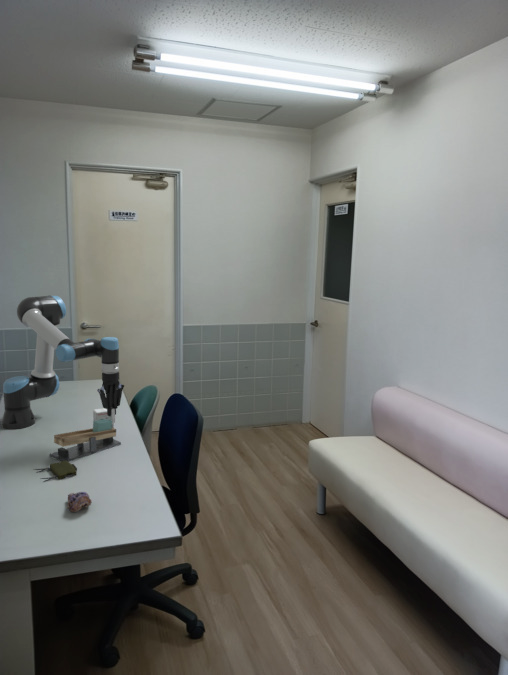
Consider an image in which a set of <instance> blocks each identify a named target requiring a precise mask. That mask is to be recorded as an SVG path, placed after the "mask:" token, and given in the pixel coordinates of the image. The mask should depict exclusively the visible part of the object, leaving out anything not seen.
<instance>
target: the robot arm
mask: <svg viewBox="0 0 508 675" xmlns="http://www.w3.org/2000/svg"><path fill="white" fill-rule="evenodd" d="M66 315H67V308H66V304H65V302H64V301H63V298H61V297H60V296H59V295H45V296H44V295H42V296H29V297H26V298H24V299H22V300H20V302H19V304H18V305H17V308H16V316H17V318H18V320H19V321H20V322H21V324H23V325H24V326H25V327H26V328H27V327H28V328H30V329H32V330H33V331H34V332H35V333H36V344H35V345H36V346H35V357H34V358H35V359H34V360H35V361H34V368H33V369H32V370H31V372H30V377H29V376H28V375H19V376H18V375H17V376H12V377H10V378H8V379H6V380H4V382H3V387H2V392H3V402H4V403H3V404H4V412H3V415H2V419H1V427H2V428H4V429H8V430H9V429H10V430H16V429H22V428H27V427H30V426H33V425H34V424H35V423H36V417H35V415H34V413H33V411H32V407H31V401H36V400H39V399H44V398H49V397H52V396H54V395H56V394H57V393H58V391H59V389H60V385H61V384H60V380H59V376H58V375H57V374H56V372H55V370H54V369H53V368H54V359H55V358H54V357H56V358H57V360H58V361H59V362H63V363H65V362H72V361H77V360H82V359H87V358H92V357H97V358H101V372H102V373H101V381H102V384H101V385H102V386H101V387H100V388H98V389H96V390H97V392H98V394H99V396H100V400H101V405H102V408H105V409H107V415H108V416H109V420H111V421H112V423H114V424H115V423H116V415H117V409H118V407H120V405H121V401H122V395H123V390H124V387H125V385H124V384H121V382H120V381H119V380H120V372H119V371H120V362H119V361H120V355H119V354H120V353H119V352H120V350H119V349H120V345H119V338H117V337H115V336H107V337H106V336H105V337H102V338H101V339H97V338H86V339H85V340H84V341H78V342H77V341H76V342H74V341H73V340H72V339H70V338H69V337H68V336H67V335H65V333H64V332H62V331H61V329H59V328H58V326H59V325H60V324H61V319H64V318H65V317H66Z"/></svg>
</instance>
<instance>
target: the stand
mask: <svg viewBox="0 0 508 675" xmlns="http://www.w3.org/2000/svg"><path fill="white" fill-rule="evenodd" d="M121 445H122V442H121V441H119V440H116V439H114V437H110V438H105V439H100V440H96V437H91V438H89V442H84V443H79V444H76V445H73V446H71V447H68V448H65V447H62V446H60V447H59V448H57V451H54V452H52V453H50V454H49V456H50V458H52V459H54V460H57V461H59V462H62V461H68V462H69V463H71V462H72V461H75V460H78V459H82V458H83V457H87V456H90V455H93V454H96V453H99V452H102V451H105V450H109V449H111V448H115V447H117V446H121Z"/></svg>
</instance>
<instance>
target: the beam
mask: <svg viewBox="0 0 508 675" xmlns="http://www.w3.org/2000/svg"><path fill="white" fill-rule="evenodd" d="M116 435H117V429H116V428H115V427H114V428H112V430H106V431H101V432H95V433H94V432H93V427H92V428H85V429H82V430H76V431H70V432H64V433H57V434H54V435H53V443H54V444H56V445H58V446H60V447H63V448H65V447H68V446H75V445H77V444H79V443H87V442H89V438H91V437H96V440H100V439H105V438H110V437H113V438H115V437H116Z"/></svg>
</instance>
